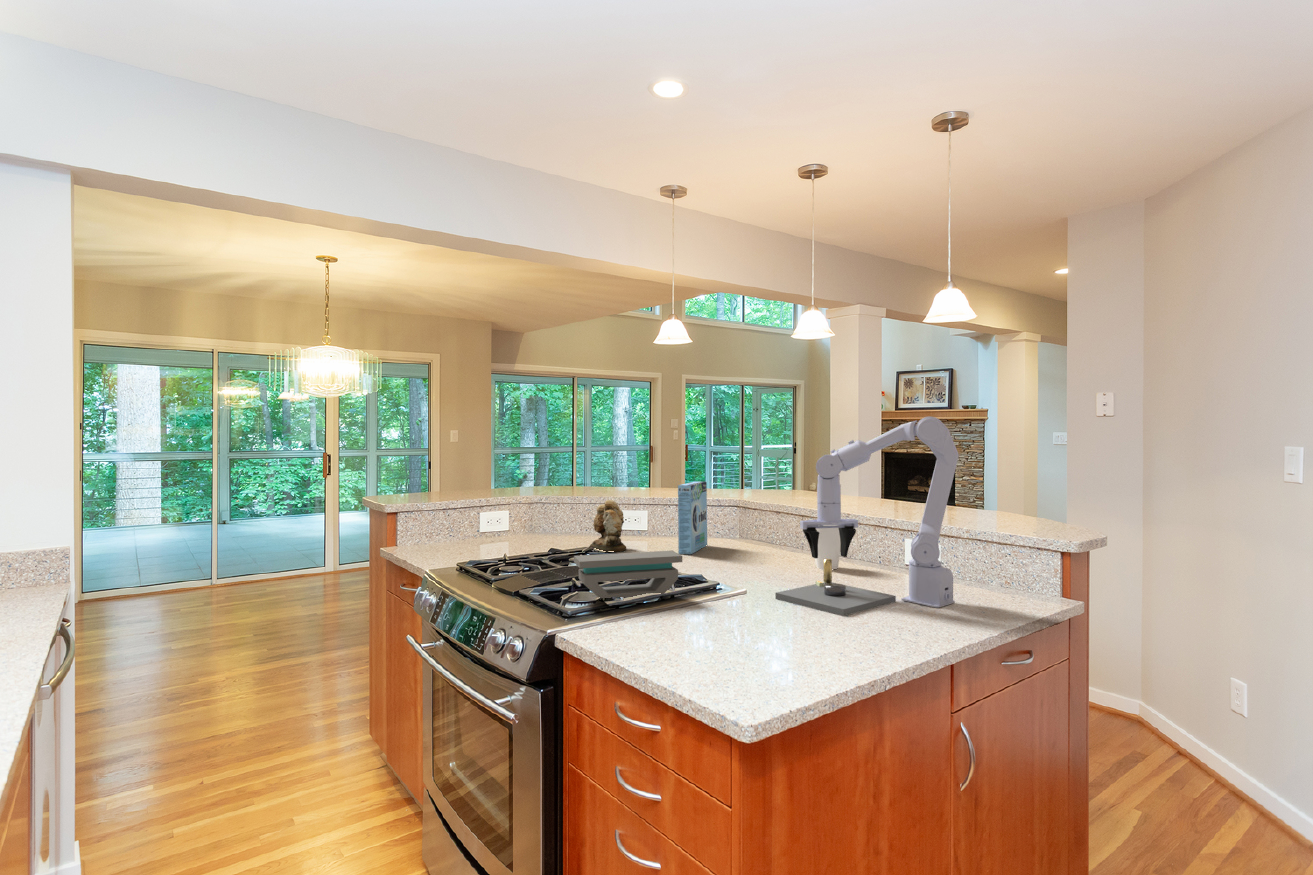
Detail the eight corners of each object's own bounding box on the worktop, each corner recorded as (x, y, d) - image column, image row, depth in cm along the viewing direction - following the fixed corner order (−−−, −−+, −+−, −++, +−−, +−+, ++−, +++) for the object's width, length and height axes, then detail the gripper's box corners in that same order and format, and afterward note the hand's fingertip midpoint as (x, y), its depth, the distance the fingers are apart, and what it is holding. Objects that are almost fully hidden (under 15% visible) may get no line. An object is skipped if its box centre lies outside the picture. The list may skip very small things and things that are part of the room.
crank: (848, 596, 165) (848, 566, 165) (827, 596, 165) (827, 566, 165) (836, 586, 176) (836, 558, 175) (816, 586, 176) (816, 558, 175)
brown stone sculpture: (582, 546, 246) (582, 498, 246) (612, 544, 252) (612, 497, 252) (601, 554, 230) (601, 502, 230) (633, 551, 236) (634, 501, 236)
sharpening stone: (672, 593, 175) (672, 550, 175) (682, 600, 168) (682, 555, 168) (574, 600, 168) (573, 555, 168) (579, 608, 161) (579, 561, 161)
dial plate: (895, 601, 166) (895, 592, 166) (843, 615, 154) (843, 605, 153) (827, 587, 182) (827, 578, 182) (775, 598, 169) (775, 589, 169)
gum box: (691, 554, 229) (691, 485, 229) (677, 554, 231) (676, 485, 230) (707, 545, 247) (707, 481, 247) (694, 544, 249) (694, 481, 249)
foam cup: (807, 569, 205) (807, 525, 204) (815, 564, 213) (815, 521, 213) (839, 572, 200) (839, 527, 200) (846, 566, 208) (846, 523, 208)
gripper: (807, 505, 169) (807, 561, 169) (863, 503, 171) (863, 558, 171) (796, 502, 176) (797, 555, 176) (850, 500, 178) (851, 553, 178)
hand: (829, 557), depth 174 cm, fingers open, 7 cm apart
